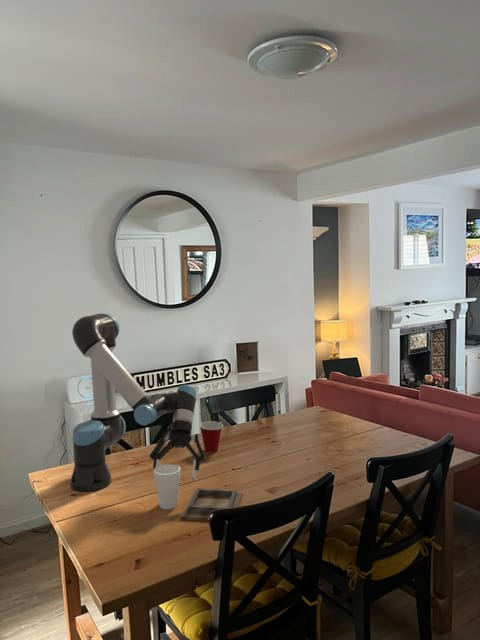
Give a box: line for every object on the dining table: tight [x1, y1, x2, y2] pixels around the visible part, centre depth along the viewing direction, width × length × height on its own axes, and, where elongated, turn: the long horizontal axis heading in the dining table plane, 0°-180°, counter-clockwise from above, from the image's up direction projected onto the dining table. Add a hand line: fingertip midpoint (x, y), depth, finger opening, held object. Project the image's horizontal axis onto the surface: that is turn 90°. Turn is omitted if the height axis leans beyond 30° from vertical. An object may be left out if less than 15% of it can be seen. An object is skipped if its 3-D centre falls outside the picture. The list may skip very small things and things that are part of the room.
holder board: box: [180, 488, 244, 522], centre depth 182 cm, size 18×20×3 cm
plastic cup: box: [199, 420, 224, 453], centre depth 237 cm, size 11×11×12 cm
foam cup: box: [153, 463, 182, 510], centre depth 184 cm, size 10×9×13 cm
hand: (174, 478), depth 186 cm, fingers open, 13 cm apart
